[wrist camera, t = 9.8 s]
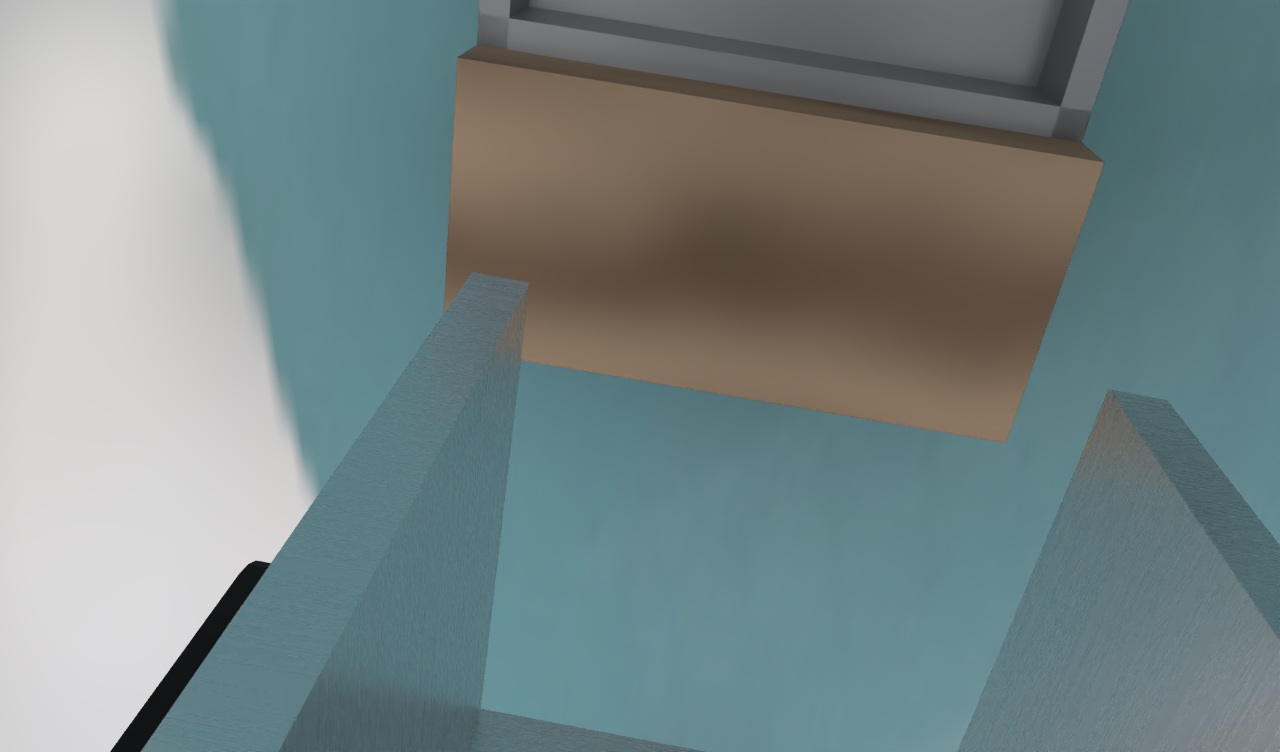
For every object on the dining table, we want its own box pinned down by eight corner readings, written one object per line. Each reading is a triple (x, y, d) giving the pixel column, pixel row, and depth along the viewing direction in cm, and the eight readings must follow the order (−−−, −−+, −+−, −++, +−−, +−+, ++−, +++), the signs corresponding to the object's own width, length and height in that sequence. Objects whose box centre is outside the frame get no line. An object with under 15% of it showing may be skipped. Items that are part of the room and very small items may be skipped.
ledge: (502, 28, 30) (457, 57, 25) (1051, 116, 29) (1104, 162, 25) (484, 282, 33) (441, 346, 29) (972, 364, 33) (1005, 442, 28)
